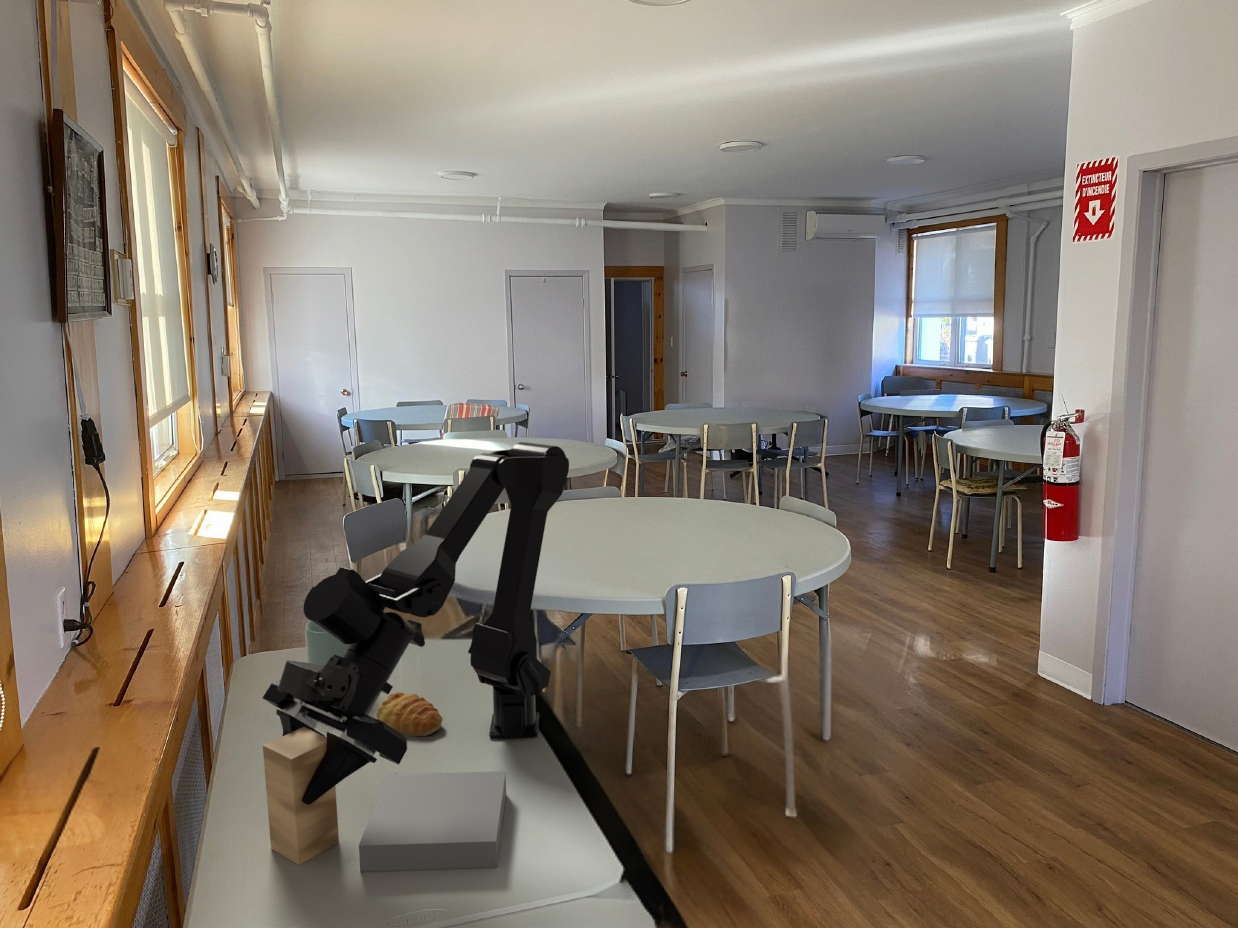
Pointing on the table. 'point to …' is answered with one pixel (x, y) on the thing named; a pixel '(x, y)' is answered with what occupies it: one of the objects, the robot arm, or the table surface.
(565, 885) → the table surface
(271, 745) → the oak block
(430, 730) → the pastry
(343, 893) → the table surface
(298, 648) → the table surface
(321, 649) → the cup
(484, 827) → the plinth
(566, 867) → the table surface
